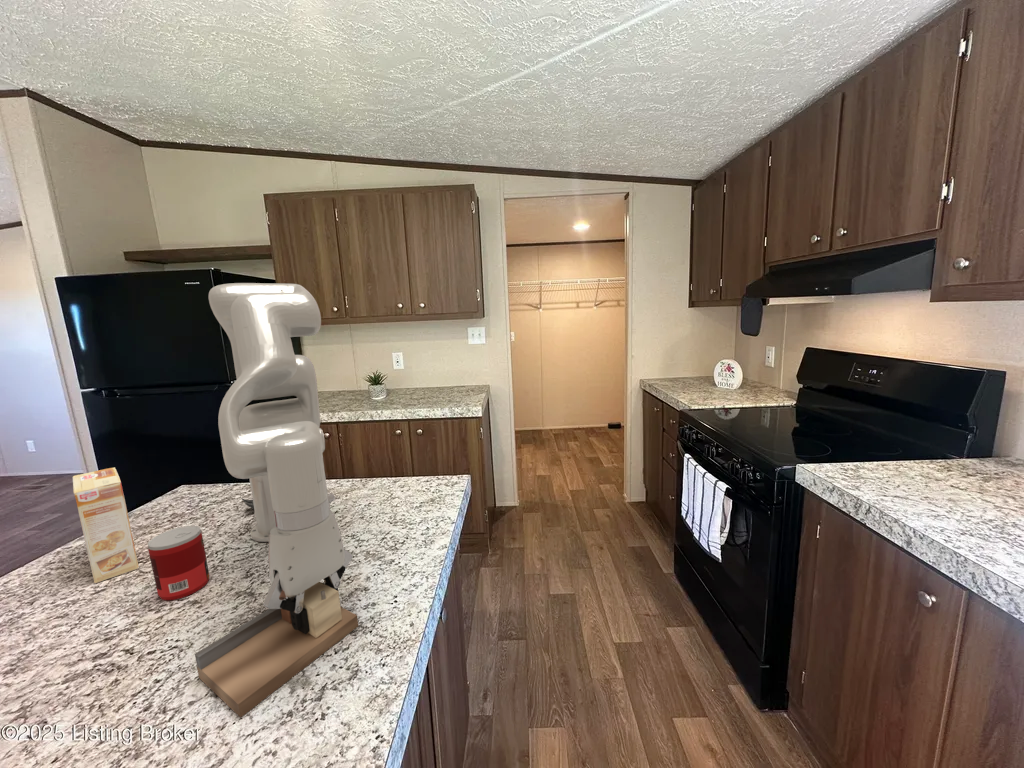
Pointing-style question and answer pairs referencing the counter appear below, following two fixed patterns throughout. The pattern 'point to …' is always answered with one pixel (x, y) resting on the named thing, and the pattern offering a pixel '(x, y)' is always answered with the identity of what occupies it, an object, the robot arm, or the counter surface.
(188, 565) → the canned food
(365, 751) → the counter surface
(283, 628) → the board
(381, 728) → the counter surface
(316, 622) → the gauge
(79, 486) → the coffeecake box
